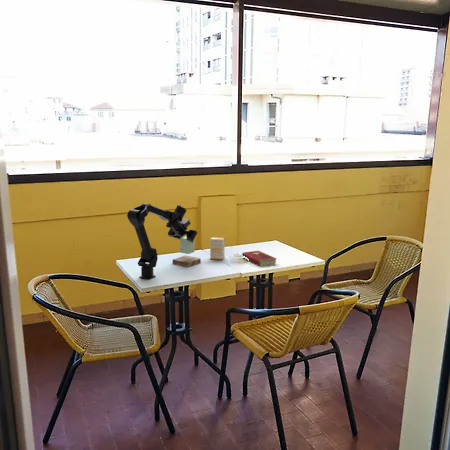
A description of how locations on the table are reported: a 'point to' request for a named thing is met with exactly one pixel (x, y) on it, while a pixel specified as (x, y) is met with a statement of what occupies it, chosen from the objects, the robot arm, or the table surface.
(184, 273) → the table surface
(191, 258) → the walnut block
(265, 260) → the hardcover book
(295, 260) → the table surface
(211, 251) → the supplement box
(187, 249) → the sage block
